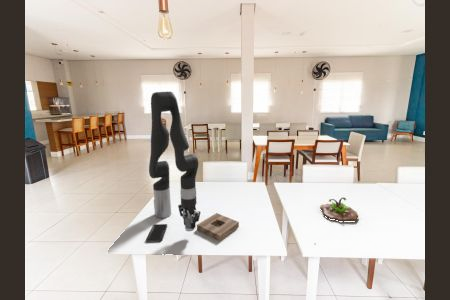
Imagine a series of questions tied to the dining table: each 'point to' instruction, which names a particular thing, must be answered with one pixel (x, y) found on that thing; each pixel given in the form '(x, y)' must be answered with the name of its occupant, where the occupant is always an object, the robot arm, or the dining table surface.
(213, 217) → the end holder
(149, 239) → the phone
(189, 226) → the connector plug
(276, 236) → the dining table surface
